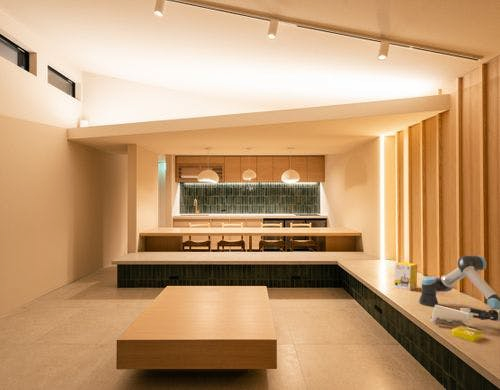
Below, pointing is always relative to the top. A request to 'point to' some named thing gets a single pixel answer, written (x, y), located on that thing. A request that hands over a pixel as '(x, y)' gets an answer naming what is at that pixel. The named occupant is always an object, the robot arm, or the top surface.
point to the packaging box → (405, 276)
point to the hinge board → (448, 323)
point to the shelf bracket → (449, 314)
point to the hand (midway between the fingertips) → (464, 312)
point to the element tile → (468, 333)
